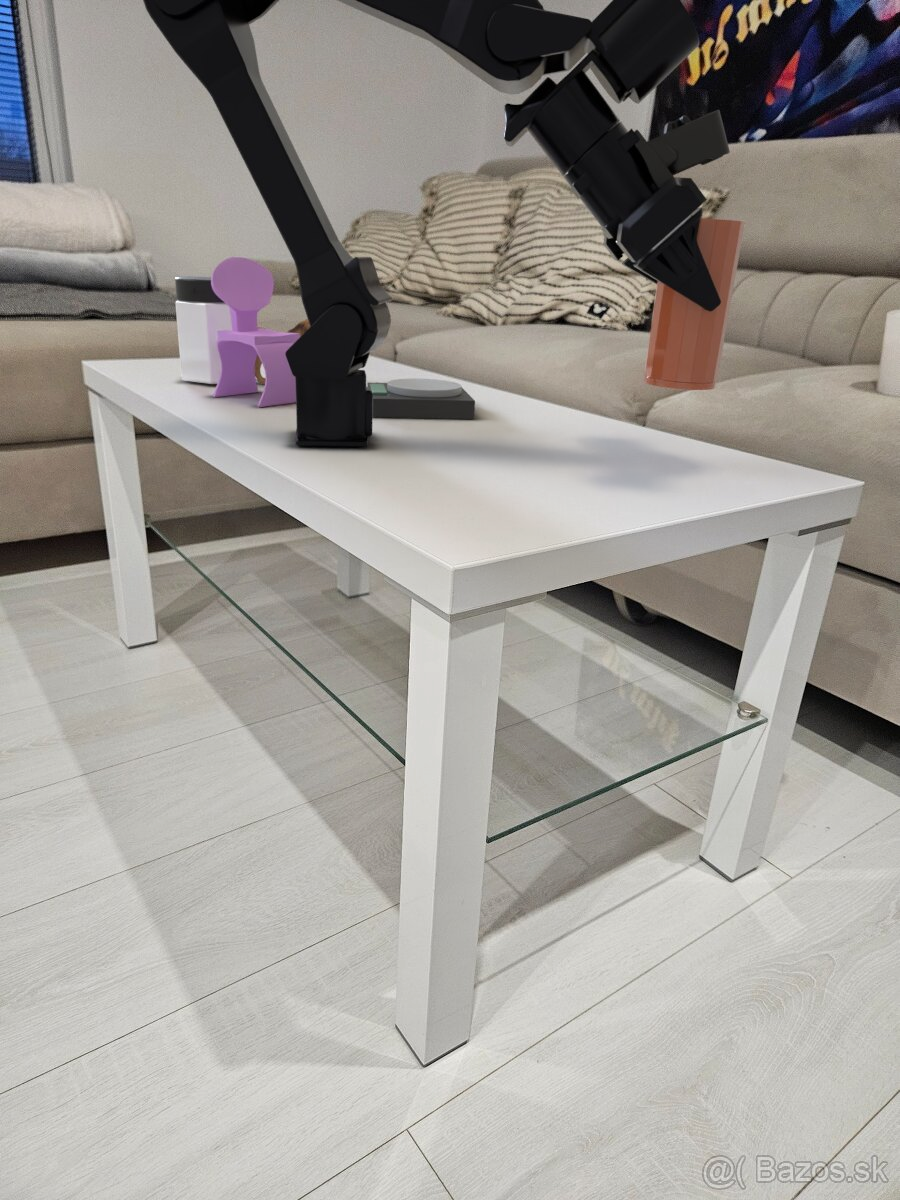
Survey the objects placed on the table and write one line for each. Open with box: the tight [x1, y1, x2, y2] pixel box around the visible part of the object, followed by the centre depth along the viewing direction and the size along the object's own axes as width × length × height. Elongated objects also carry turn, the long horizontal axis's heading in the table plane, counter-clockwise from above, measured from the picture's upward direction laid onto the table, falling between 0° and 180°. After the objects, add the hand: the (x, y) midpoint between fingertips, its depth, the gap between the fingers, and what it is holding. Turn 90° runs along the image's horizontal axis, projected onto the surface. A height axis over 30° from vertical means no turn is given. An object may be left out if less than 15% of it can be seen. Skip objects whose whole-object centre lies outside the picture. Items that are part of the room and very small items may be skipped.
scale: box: [367, 377, 476, 420], centre depth 93 cm, size 11×11×3 cm
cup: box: [643, 217, 746, 391], centre depth 69 cm, size 6×6×13 cm
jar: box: [174, 276, 232, 385], centre depth 103 cm, size 9×8×12 cm
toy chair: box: [210, 256, 300, 408], centre depth 92 cm, size 8×9×15 cm
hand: (708, 305), depth 69 cm, fingers closed on cup, 6 cm apart
